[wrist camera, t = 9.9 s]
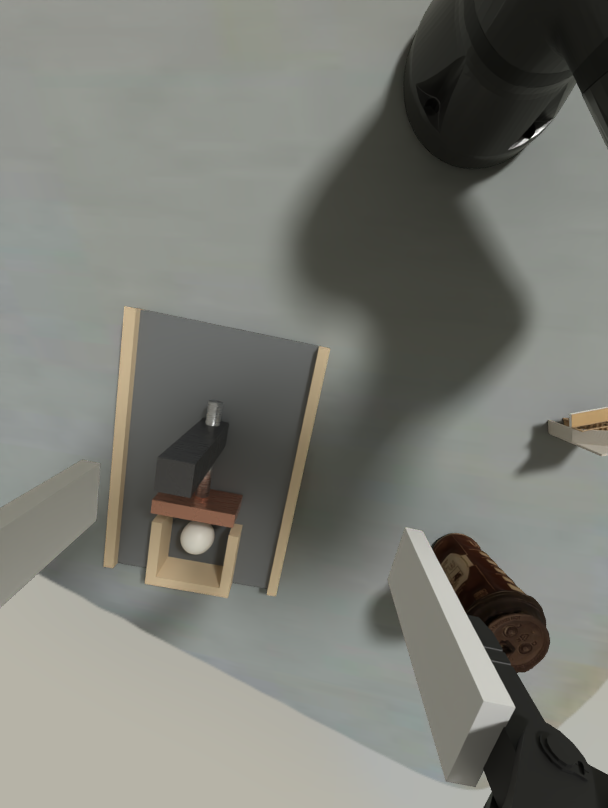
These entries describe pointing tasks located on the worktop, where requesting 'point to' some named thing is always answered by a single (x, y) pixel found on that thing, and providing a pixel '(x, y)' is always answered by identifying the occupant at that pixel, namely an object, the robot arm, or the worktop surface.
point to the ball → (197, 537)
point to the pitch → (238, 462)
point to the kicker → (195, 475)
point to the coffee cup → (494, 600)
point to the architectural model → (584, 430)
